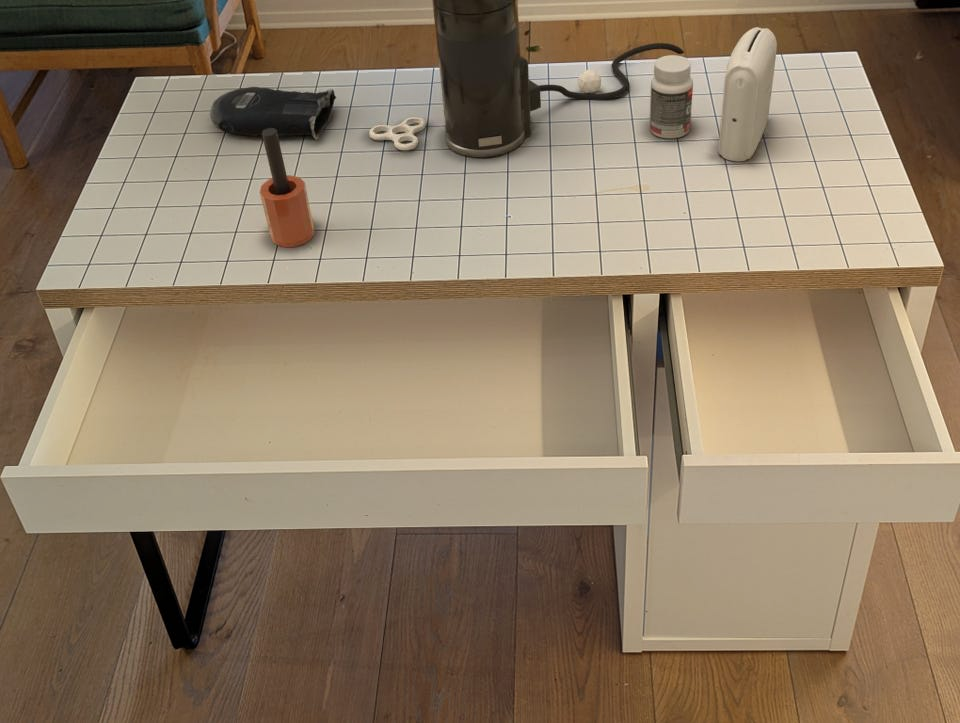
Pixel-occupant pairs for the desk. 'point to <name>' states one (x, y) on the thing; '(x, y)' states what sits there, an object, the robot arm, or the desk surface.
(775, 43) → the photo printer
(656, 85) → the pill bottle
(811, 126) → the desk surface
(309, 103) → the electronic device
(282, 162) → the dark grey rod
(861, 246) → the desk surface
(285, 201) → the pen holder
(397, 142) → the fidget spinner
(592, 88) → the polyhedron
